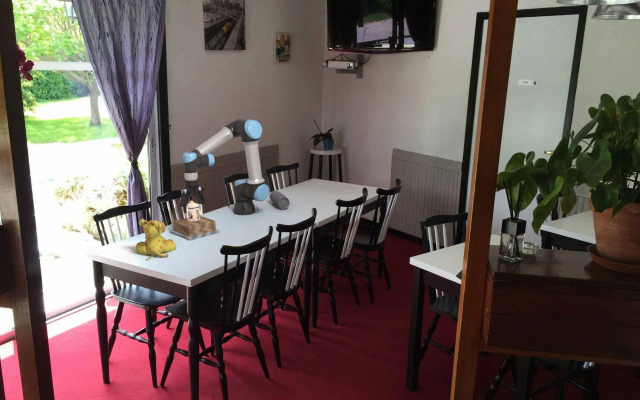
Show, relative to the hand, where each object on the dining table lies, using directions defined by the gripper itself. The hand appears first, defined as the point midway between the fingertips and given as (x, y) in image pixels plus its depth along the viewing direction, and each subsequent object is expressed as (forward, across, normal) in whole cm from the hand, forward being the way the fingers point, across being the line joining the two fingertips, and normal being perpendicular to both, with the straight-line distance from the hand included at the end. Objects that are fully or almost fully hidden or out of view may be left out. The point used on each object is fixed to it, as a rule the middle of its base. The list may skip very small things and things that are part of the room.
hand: (193, 216), depth 311 cm
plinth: (+10, 0, 0) cm, 10 cm away
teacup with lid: (+3, 0, 0) cm, 3 cm away
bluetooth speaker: (+11, +77, +10) cm, 78 cm away
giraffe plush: (+11, -34, -15) cm, 38 cm away
